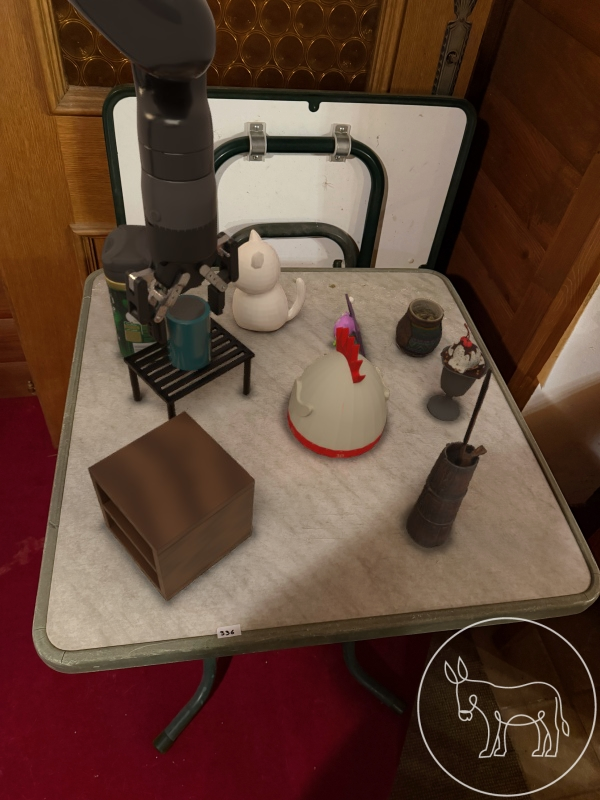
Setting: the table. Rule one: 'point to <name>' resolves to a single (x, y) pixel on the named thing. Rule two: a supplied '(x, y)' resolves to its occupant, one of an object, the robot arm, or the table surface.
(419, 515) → the butter churn
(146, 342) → the coffee jar
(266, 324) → the cat figurine
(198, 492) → the shelf
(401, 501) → the table surface
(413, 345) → the mate gourd
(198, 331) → the cup
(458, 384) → the sundae
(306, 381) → the kitchen timer
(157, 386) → the rack
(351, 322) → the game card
